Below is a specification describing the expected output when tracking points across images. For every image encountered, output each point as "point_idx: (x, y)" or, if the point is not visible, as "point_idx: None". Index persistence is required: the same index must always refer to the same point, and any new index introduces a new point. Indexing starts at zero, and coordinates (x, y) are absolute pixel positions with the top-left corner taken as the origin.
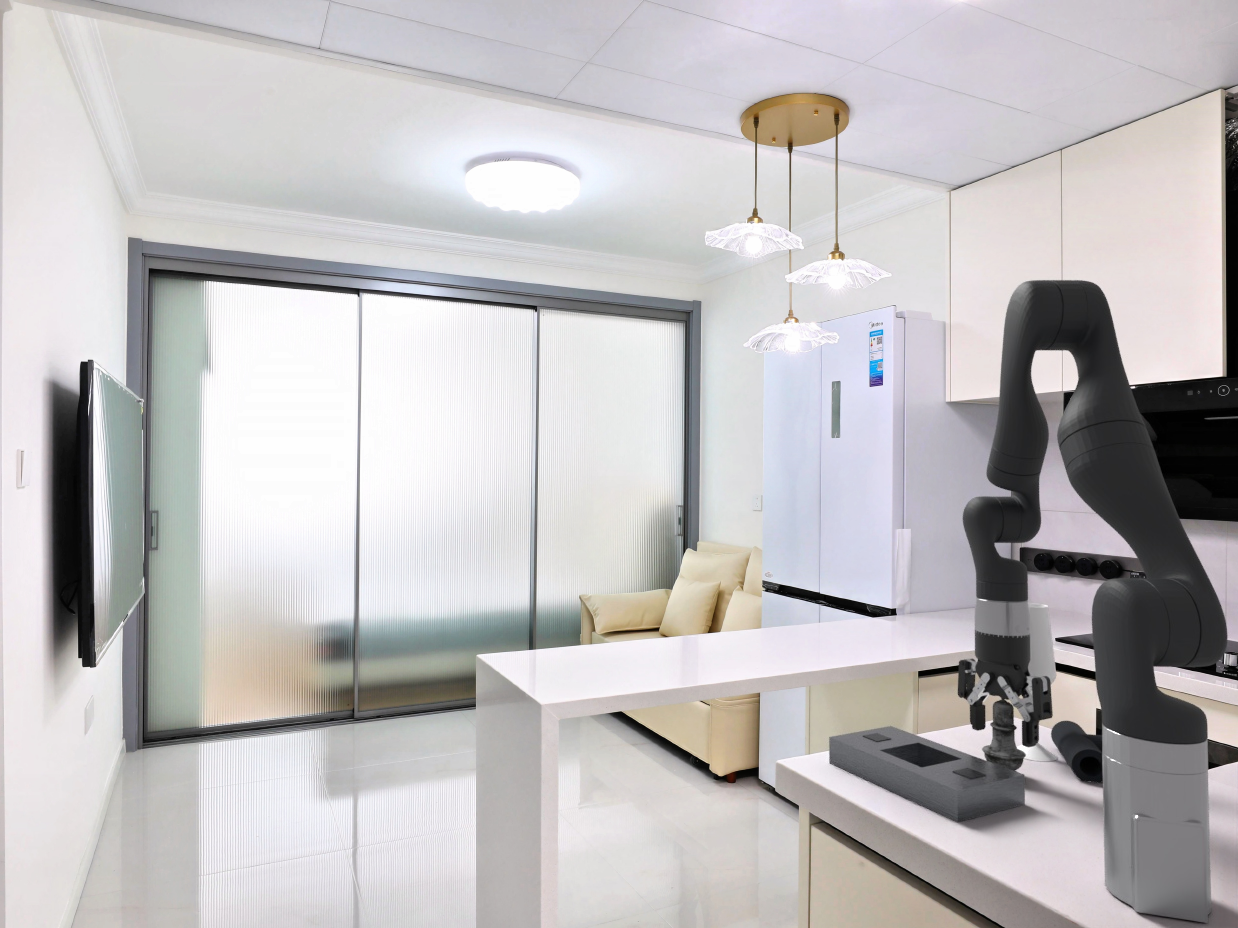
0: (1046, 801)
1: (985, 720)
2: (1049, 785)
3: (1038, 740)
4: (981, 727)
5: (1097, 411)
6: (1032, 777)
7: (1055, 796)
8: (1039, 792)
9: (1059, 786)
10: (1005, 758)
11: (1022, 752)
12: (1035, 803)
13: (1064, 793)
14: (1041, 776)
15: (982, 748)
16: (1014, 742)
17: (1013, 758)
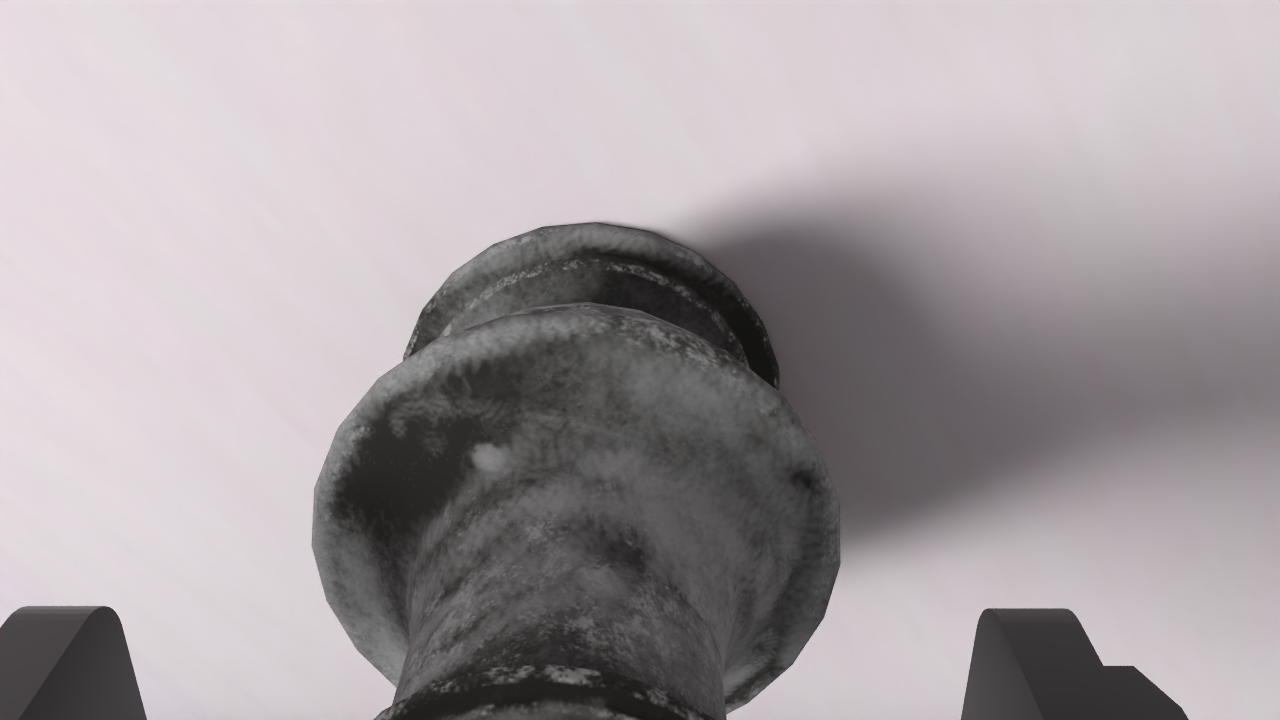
0: (1190, 594)
1: (39, 682)
2: (1012, 234)
3: (1170, 705)
4: (120, 692)
5: None
6: (773, 185)
7: (1191, 438)
8: (1048, 478)
9: (1093, 163)
10: (743, 697)
11: (739, 412)
12: None
13: (1217, 297)
14: (807, 58)
15: (386, 675)
16: (717, 618)
17: (803, 645)
